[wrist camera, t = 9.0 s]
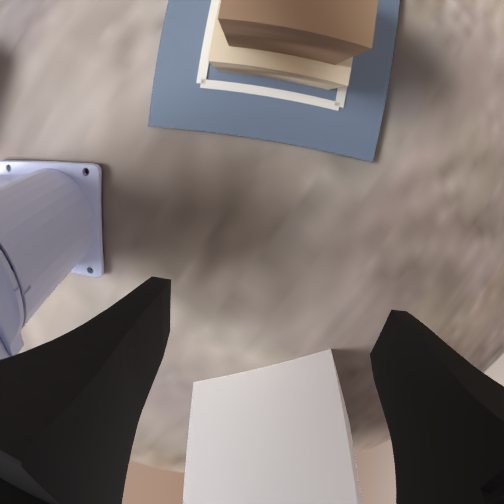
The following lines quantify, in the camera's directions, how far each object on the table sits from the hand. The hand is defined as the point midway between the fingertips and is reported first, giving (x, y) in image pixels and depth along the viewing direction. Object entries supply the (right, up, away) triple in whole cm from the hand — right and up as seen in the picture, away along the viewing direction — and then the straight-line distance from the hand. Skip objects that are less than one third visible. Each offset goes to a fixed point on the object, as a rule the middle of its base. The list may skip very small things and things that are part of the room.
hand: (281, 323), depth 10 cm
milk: (+2, -12, +18) cm, 21 cm away
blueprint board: (+1, +14, +5) cm, 15 cm away
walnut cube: (+1, +12, 0) cm, 12 cm away
